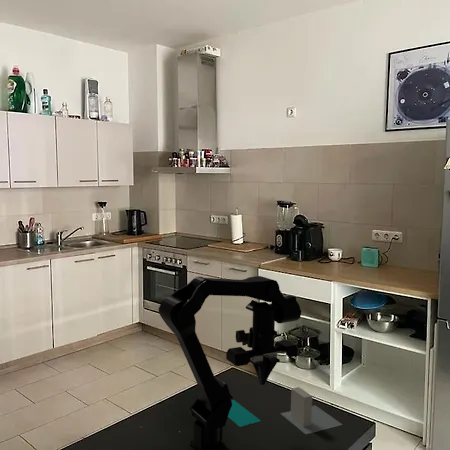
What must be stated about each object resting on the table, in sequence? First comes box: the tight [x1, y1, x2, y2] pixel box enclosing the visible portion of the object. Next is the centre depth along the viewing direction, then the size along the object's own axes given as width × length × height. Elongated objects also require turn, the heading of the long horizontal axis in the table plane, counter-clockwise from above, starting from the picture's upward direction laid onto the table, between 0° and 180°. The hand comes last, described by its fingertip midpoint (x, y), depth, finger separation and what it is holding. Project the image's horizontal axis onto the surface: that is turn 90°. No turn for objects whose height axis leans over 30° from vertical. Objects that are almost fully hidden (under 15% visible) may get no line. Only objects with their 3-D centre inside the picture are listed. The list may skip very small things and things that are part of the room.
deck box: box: [290, 386, 313, 427], centre depth 125 cm, size 3×6×8 cm, turn 26°
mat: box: [280, 405, 343, 435], centre depth 126 cm, size 12×12×1 cm
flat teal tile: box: [227, 398, 263, 429], centre depth 129 cm, size 7×1×15 cm
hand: (262, 384), depth 120 cm, fingers closed
